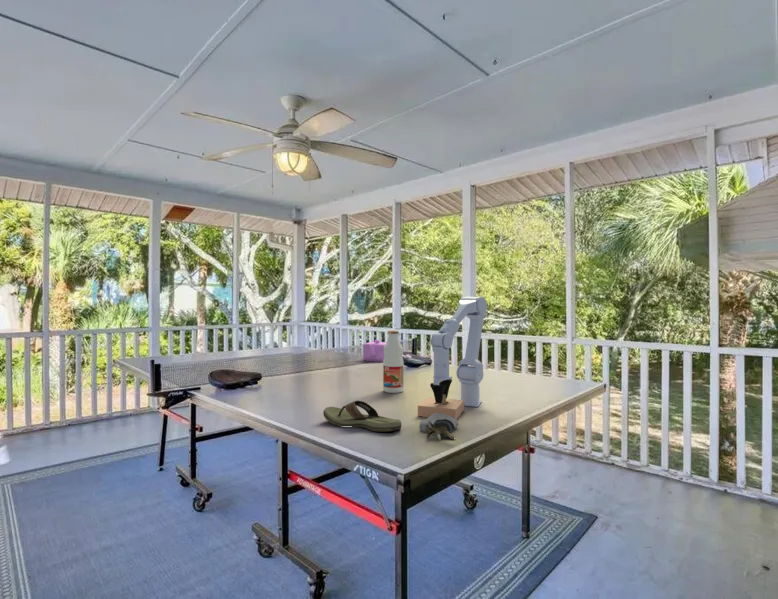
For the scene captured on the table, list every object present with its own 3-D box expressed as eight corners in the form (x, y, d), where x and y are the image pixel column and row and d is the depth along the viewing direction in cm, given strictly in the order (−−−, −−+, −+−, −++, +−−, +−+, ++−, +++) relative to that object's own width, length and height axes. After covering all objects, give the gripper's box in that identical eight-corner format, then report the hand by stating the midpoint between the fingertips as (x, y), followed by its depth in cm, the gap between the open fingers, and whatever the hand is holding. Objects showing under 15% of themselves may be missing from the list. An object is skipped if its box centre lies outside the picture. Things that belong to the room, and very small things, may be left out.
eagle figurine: (427, 440, 131) (457, 435, 131) (423, 417, 135) (451, 412, 135) (429, 446, 138) (457, 441, 137) (424, 424, 142) (452, 419, 141)
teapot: (358, 362, 289) (358, 341, 289) (373, 357, 313) (373, 337, 313) (380, 363, 284) (380, 342, 284) (393, 358, 308) (393, 338, 307)
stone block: (459, 432, 148) (434, 422, 154) (462, 419, 147) (437, 409, 153) (442, 443, 139) (416, 431, 144) (444, 429, 138) (418, 418, 144)
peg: (438, 412, 167) (438, 393, 167) (446, 412, 166) (446, 394, 166) (436, 414, 164) (436, 395, 164) (444, 415, 163) (444, 396, 163)
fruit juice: (407, 391, 203) (407, 331, 203) (392, 394, 197) (392, 332, 196) (393, 388, 210) (393, 329, 210) (379, 390, 204) (379, 330, 203)
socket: (428, 407, 174) (428, 397, 174) (464, 410, 169) (464, 400, 169) (417, 416, 161) (417, 405, 161) (455, 420, 156) (455, 409, 156)
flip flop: (318, 424, 153) (318, 400, 153) (339, 416, 163) (339, 393, 163) (389, 438, 137) (389, 411, 137) (407, 428, 148) (407, 403, 148)
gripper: (446, 368, 156) (446, 406, 157) (456, 362, 170) (456, 397, 170) (428, 367, 159) (428, 404, 159) (438, 361, 173) (438, 395, 173)
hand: (441, 400), depth 165 cm, fingers open, 7 cm apart
